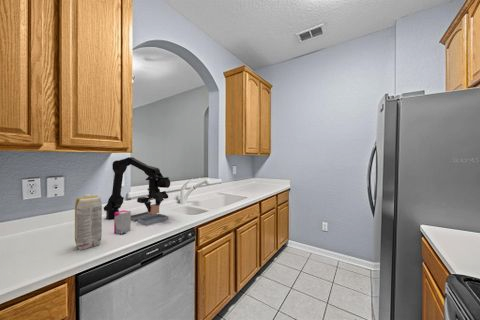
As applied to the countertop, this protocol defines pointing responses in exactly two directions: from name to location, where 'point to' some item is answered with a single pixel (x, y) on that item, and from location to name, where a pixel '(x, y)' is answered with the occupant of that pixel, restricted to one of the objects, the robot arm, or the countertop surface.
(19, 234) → the countertop surface
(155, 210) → the brown cube
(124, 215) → the supplement box
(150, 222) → the tray
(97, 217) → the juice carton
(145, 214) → the bin
